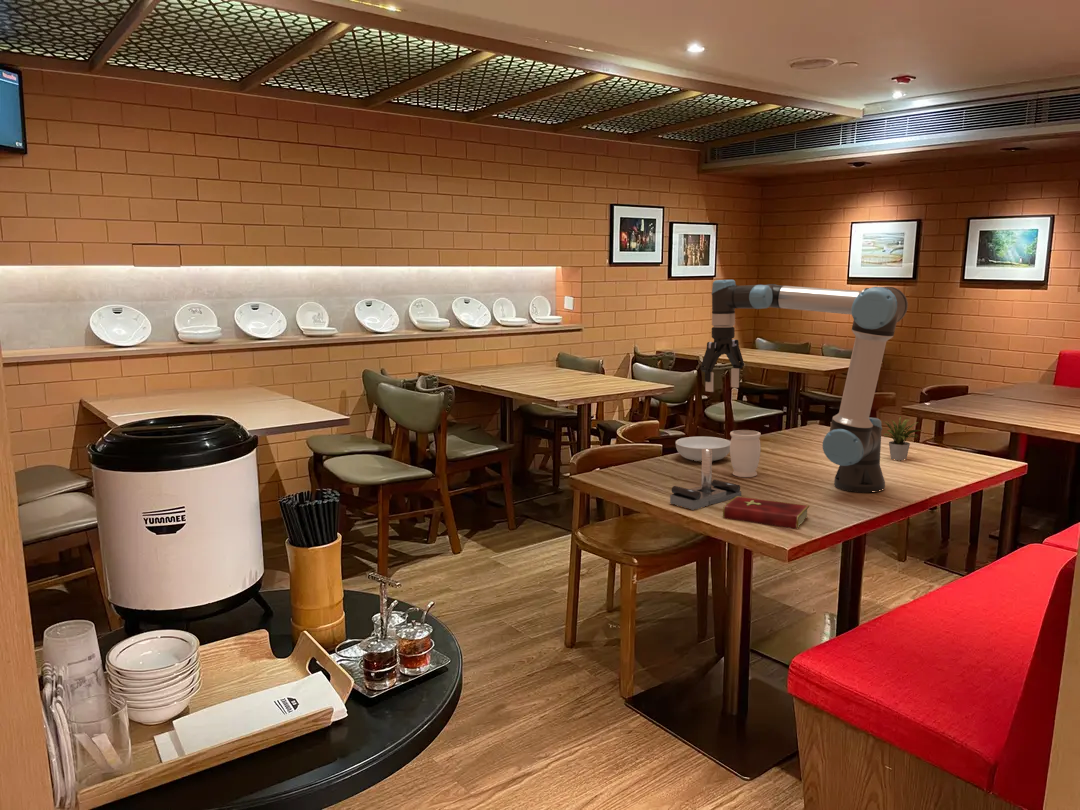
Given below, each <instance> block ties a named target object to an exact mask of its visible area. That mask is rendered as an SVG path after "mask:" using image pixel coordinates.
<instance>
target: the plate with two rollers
mask: <svg viewBox="0 0 1080 810" xmlns="http://www.w3.org/2000/svg"><path fill="white" fill-rule="evenodd" d="M736 496H740V497H742V491H741V485H740V484H736V483H732V482H728V481H722V480H719V479H713V480H712V490H711V492H710V493H704V492H702V485H701V486H697V487H694V488H690V489H689V488H684V487H682V486H677V485H673V486H672V487H671V494H670V496H669V499H670V500H669V501H670V502H669V503H671V504H675V505H678V506H677V507H679V506H682V507H685V508H684V509H686V508H689V509H691V510H690V511H695V510H694V509H697V510H699V509H698V508H700V509H702V508H701V507H703V508H705V506H706V507H709V506H708V505H710V506H712V505H711V504H713V505H715V503H716V504H719V503H723V502H726V501H728V500H729V501H730V500H732V499H734V498H735V497H736ZM722 501H723V502H722ZM671 504H670V505H671ZM675 505H674V506H675ZM682 507H681V508H682ZM689 509H688V510H689Z"/></svg>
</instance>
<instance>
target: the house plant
mask: <svg viewBox="0 0 1080 810" xmlns="http://www.w3.org/2000/svg"><path fill="white" fill-rule="evenodd" d="M901 418H902V416H901V415H900V417H899V419H898V424H897V423H896V422H895V421H894V420H892V419H890V421H891V422H892V424H893V426H892V424H890V422H889V421H887V420H886V421H883V420H881V423H882V422H883V423H885V425H886V426H887V427H888V428H889V429H888V430H886V432H888V433H884V434H883V436H884V438H888V437H890V438H892V440H891V441H889V442H888V446H889V456H890V460H891V459H895V460H904V459H906V460H907V458H908V454H909V450H910V445H911V444H910V442H908V441H907V440H909V439H910V438H914V439H915V438H916V439H917V437H918V438H920V436H919V435H918V434H914V433H916V432H922V431H924V430H922V429H911V428H913V427H914V426H915V425H917V424H918V423H919V421H917V422H914V423H912V424H911V425H909V426H907V424H908V422H909V421H910V420H911V418H906V419H904V420H903V422H902V419H901ZM910 429H911V430H910ZM895 460H894V461H895Z"/></svg>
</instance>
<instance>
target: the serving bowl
mask: <svg viewBox="0 0 1080 810" xmlns="http://www.w3.org/2000/svg"><path fill="white" fill-rule="evenodd" d="M730 442H731V440H730V439H725V438H721V437H715V436H689V437H681V438H679V439H677V440H675V448H676V450H677V452H678V454H679V455H680V456H681V457H683V458H685V459H687V460H690V461H693V460H694V461H693V462H697V461H702V449H706V448H707V449H712V462H714V461H718V460H722V459H724V458H725V457H727V456H728V455H729V454H730Z"/></svg>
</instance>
